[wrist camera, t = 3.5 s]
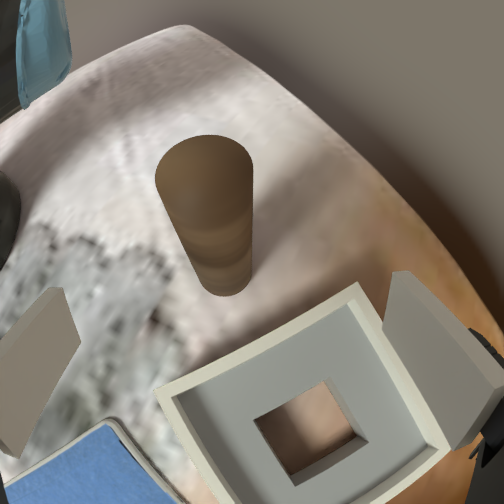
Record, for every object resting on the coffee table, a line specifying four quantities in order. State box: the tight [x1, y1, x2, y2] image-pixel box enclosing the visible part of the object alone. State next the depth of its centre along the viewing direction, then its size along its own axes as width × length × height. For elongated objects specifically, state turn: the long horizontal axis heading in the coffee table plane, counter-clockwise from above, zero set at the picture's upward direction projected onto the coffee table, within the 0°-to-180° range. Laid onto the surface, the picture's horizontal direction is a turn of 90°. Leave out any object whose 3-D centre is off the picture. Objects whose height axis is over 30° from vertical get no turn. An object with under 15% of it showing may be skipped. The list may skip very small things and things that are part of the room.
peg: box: [155, 135, 253, 297], centre depth 18 cm, size 4×4×12 cm
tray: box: [153, 282, 451, 504], centre depth 17 cm, size 14×14×4 cm
